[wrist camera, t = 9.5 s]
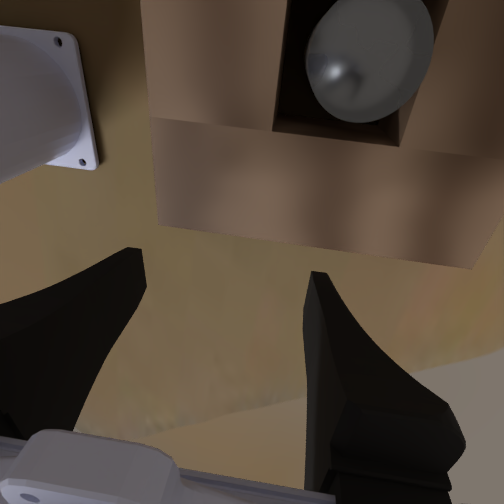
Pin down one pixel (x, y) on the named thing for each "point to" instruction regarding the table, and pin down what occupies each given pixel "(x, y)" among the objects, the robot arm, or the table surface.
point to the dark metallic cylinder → (369, 57)
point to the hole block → (325, 137)
